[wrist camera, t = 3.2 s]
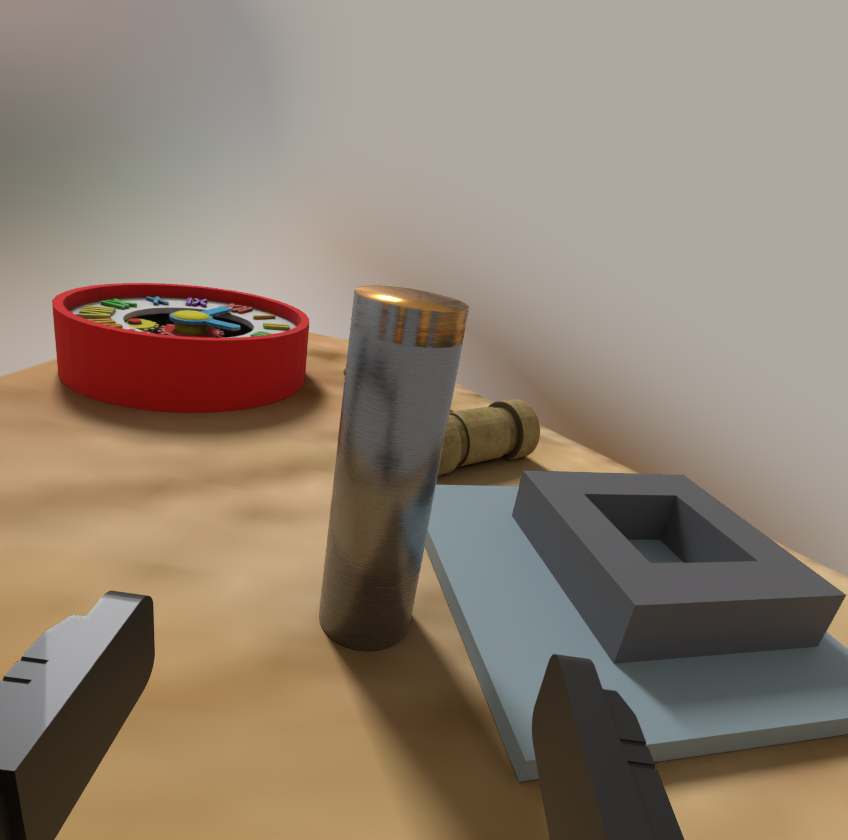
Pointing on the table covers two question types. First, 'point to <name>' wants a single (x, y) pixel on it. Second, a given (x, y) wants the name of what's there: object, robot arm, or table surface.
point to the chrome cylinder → (387, 459)
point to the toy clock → (179, 346)
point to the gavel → (489, 434)
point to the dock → (653, 692)
